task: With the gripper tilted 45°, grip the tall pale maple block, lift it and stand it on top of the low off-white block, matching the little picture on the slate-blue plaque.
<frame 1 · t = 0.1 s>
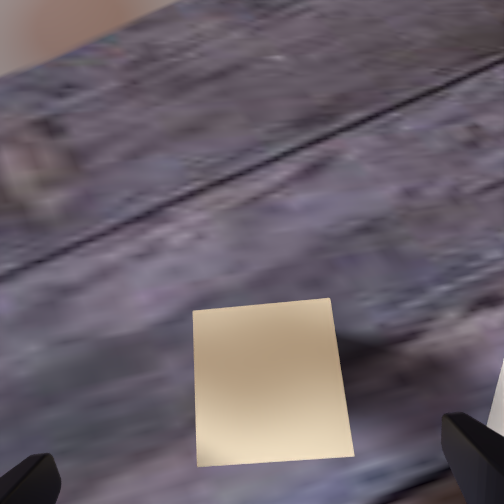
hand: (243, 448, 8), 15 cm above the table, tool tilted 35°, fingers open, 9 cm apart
maple pillar: (274, 365, 22), on the table
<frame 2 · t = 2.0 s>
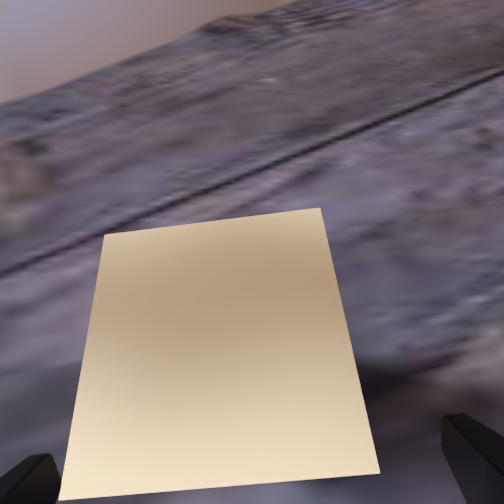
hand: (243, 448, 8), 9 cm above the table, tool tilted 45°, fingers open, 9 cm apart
maple pillar: (264, 403, 17), on the table
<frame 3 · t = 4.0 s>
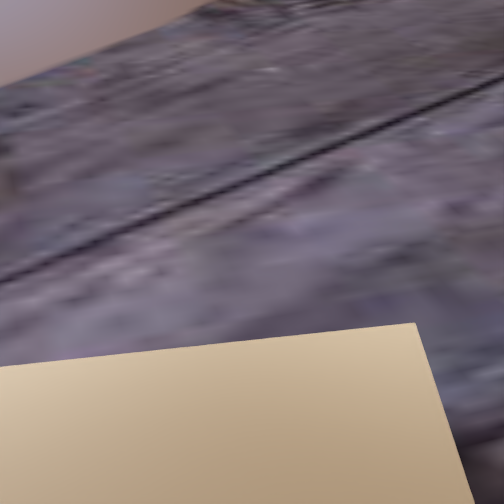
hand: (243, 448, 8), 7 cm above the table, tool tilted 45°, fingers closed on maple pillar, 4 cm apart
maple pillar: (268, 486, 13), on the table, touching gripper
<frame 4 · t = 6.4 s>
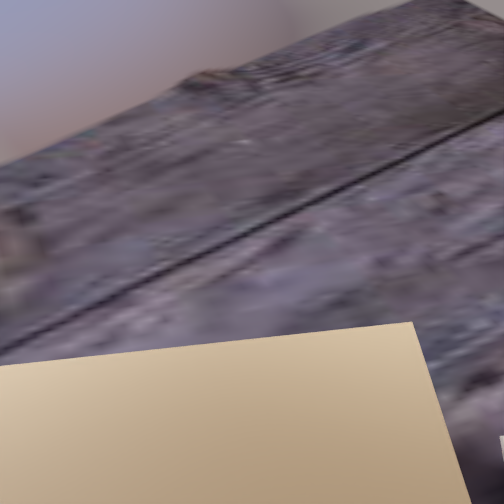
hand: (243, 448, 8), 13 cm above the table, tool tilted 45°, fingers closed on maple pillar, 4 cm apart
maple pillar: (267, 486, 13), point 7 cm above the table, touching gripper
when the fingers open (12 cm above the table, at t = 8.9 s): maple pillar drops 2 cm, point 4 cm above the table.
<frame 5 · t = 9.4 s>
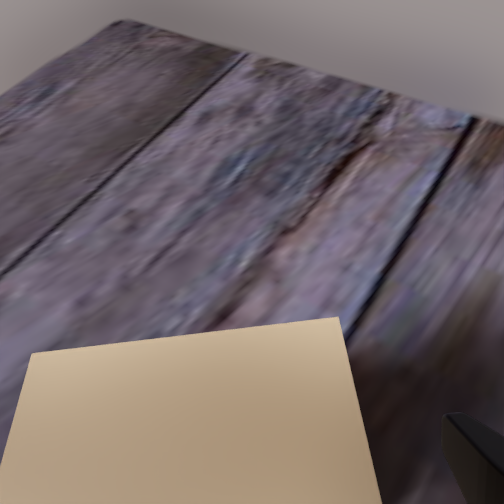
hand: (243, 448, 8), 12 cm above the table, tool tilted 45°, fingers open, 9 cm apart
maple pillar: (267, 482, 14), point 4 cm above the table
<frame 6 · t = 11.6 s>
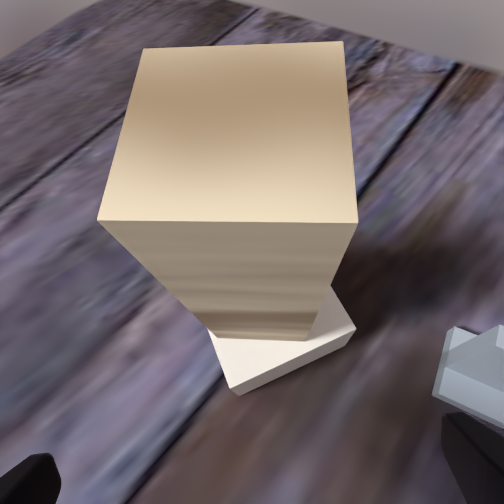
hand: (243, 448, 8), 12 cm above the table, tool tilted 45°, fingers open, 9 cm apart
white slab: (268, 319, 22), on the table
maple pillar: (262, 297, 18), point 4 cm above the table
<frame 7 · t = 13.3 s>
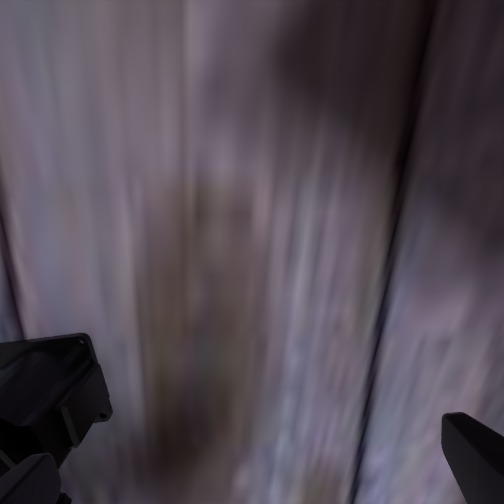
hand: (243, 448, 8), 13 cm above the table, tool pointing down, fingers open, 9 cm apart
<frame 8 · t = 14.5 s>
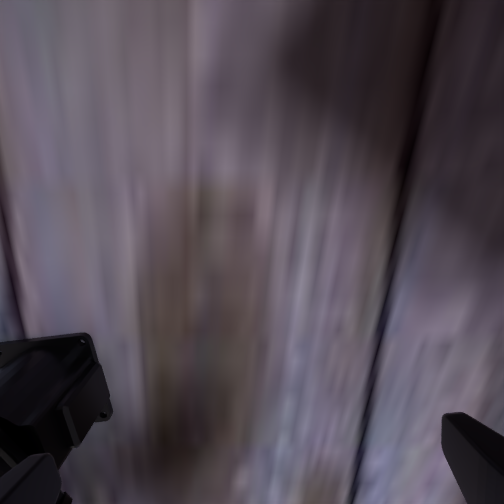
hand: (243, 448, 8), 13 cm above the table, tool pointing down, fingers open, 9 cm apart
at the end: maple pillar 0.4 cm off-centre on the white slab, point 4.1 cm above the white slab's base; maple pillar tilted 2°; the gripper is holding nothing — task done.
